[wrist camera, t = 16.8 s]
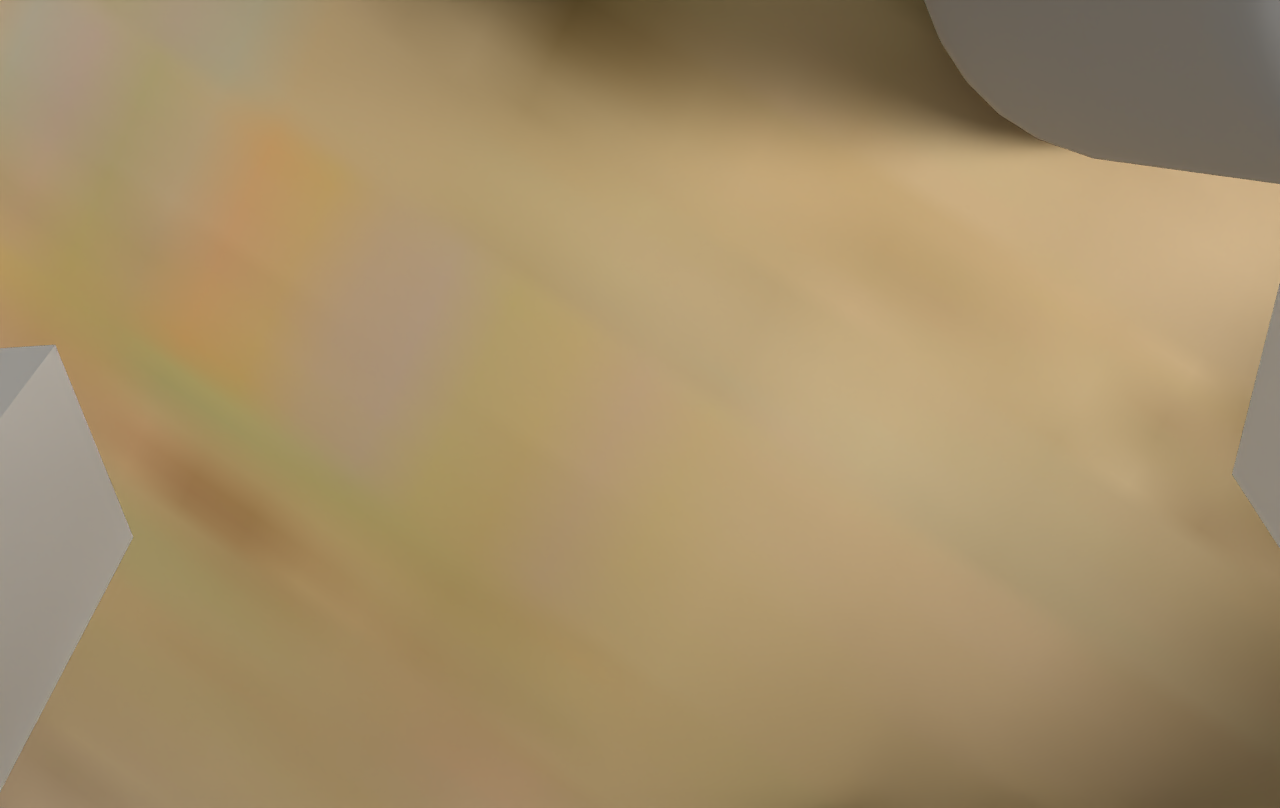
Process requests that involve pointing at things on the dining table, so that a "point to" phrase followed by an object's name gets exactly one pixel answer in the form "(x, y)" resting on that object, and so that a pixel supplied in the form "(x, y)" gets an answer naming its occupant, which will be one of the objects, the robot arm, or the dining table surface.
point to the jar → (1129, 77)
